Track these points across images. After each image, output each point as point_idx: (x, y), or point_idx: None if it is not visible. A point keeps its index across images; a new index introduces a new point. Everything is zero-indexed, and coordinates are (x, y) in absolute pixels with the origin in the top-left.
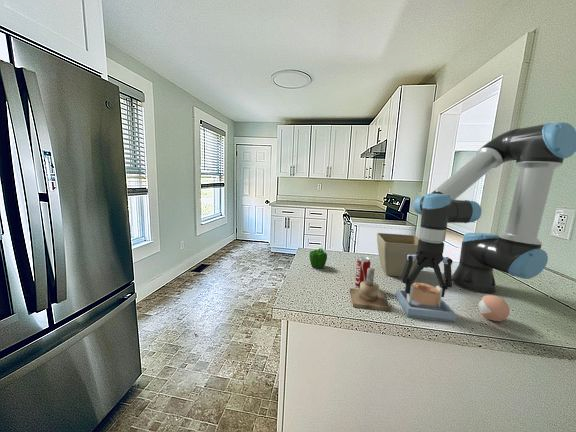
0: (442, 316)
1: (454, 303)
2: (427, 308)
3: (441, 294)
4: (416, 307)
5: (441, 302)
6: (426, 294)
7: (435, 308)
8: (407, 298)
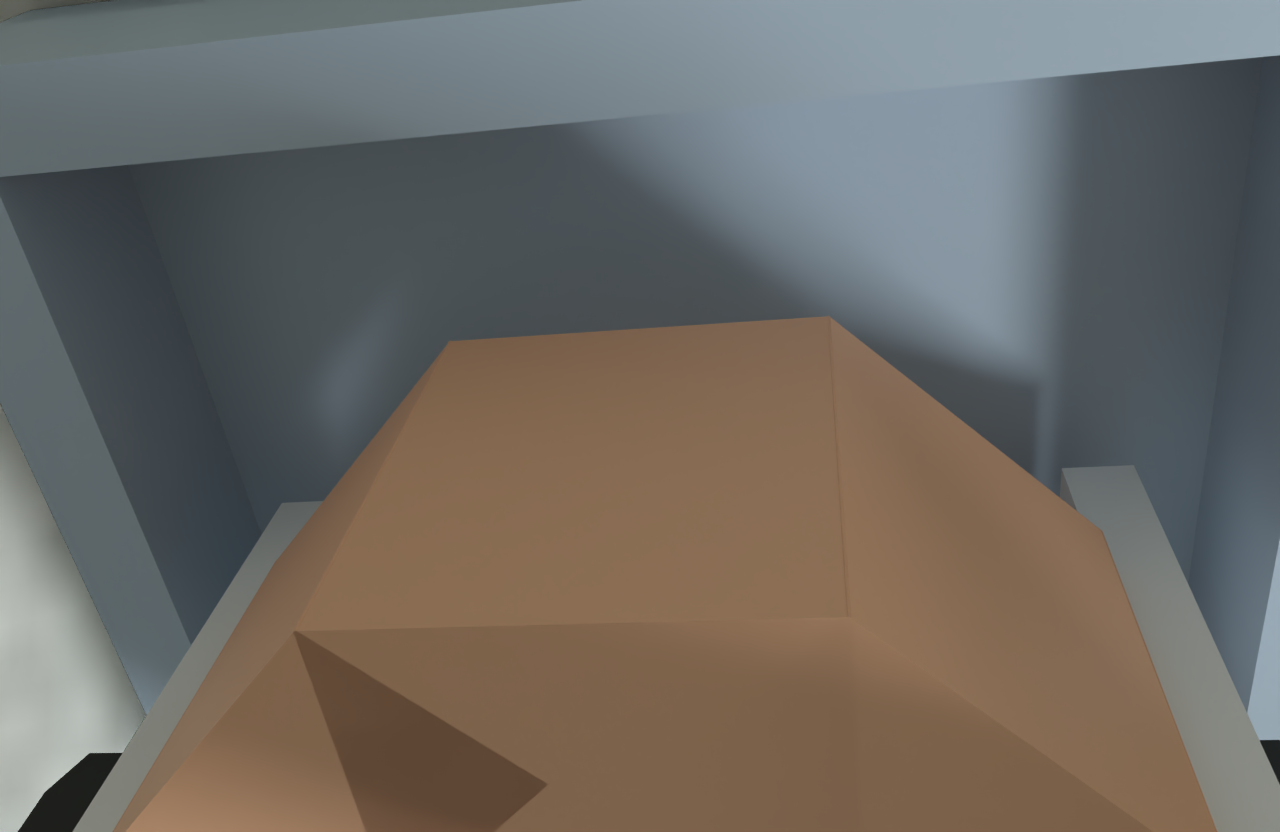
0: (280, 3)
1: (2, 818)
2: None
3: (100, 805)
4: None
5: None
6: (730, 580)
7: None
8: None
